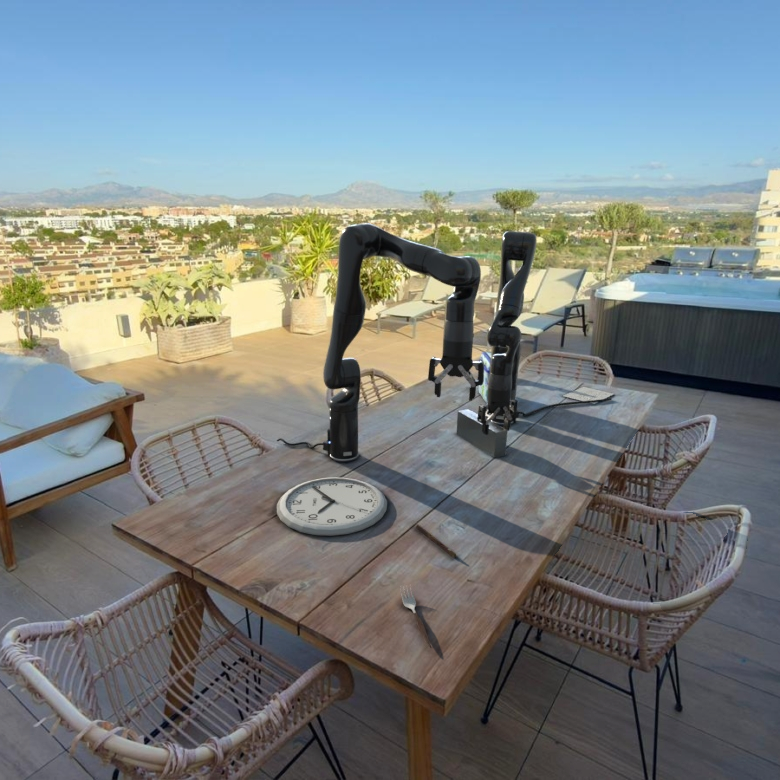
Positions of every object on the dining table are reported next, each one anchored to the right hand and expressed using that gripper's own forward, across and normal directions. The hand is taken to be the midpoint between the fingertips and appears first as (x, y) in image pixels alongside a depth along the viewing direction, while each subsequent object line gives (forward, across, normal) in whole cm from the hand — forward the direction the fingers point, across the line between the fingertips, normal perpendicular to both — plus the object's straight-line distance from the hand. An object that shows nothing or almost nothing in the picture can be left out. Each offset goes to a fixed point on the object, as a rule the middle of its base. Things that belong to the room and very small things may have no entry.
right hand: (495, 432), depth 175 cm
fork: (+7, +62, +58) cm, 85 cm away
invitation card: (+8, -80, -35) cm, 88 cm away
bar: (+8, 0, -8) cm, 12 cm away
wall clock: (+7, +62, +10) cm, 63 cm away
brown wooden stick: (+7, +45, +37) cm, 59 cm away
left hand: (-23, +31, +21) cm, 44 cm away
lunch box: (+8, -34, -48) cm, 60 cm away
